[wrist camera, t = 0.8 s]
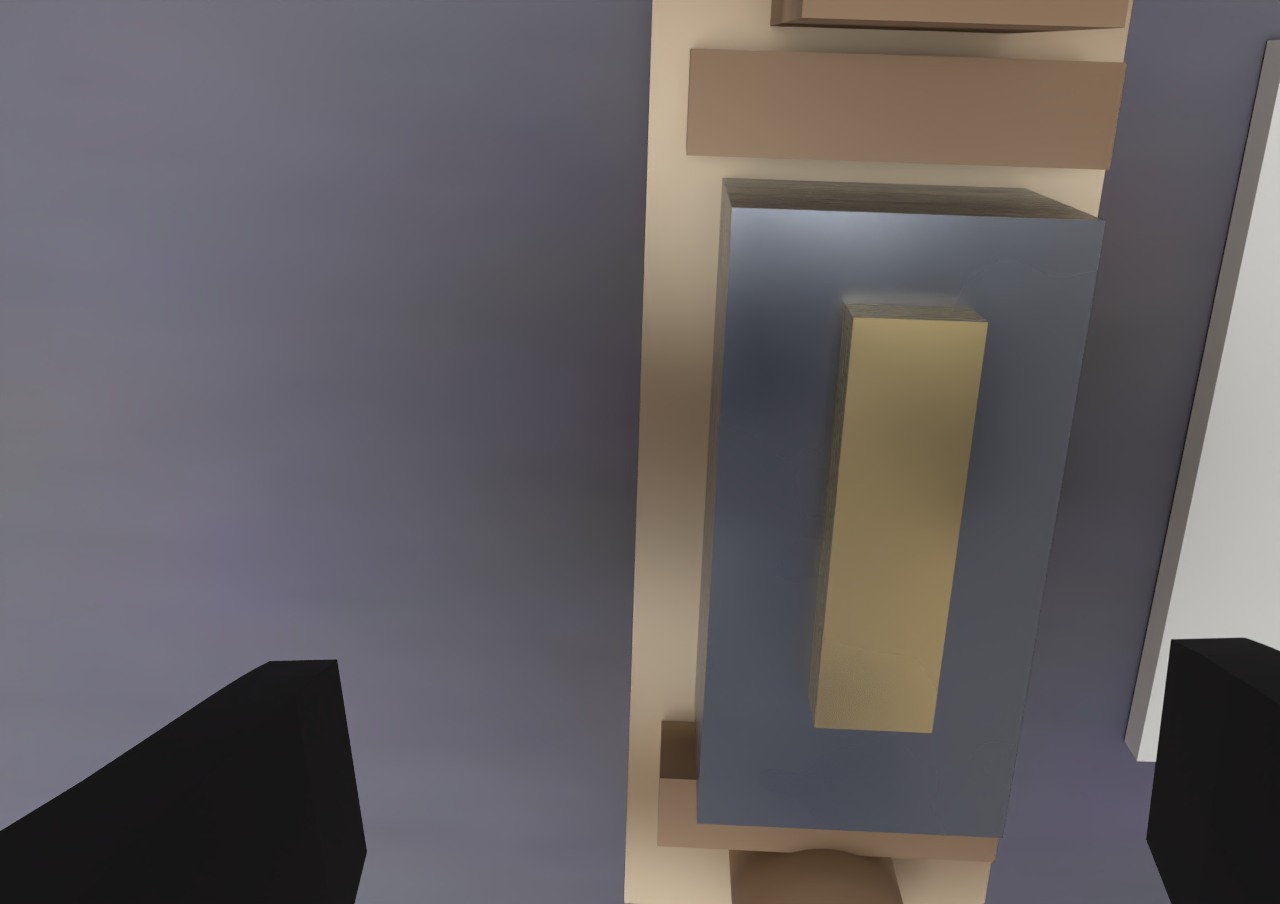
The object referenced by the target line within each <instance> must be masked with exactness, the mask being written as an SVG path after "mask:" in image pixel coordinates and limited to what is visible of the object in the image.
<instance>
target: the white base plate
mask: <svg viewBox="0 0 1280 904" xmlns="http://www.w3.org/2000/svg"><path fill="white" fill-rule="evenodd" d="M1243 637H1245V638H1248V639H1251V640H1253V641H1256V642H1259V643H1261V644H1264V645H1267V646H1269V647H1272V648H1274V649H1276V650H1279V651H1280V40H1268V41H1267V46H1266V51H1265V56H1264V61H1263V66H1262V70H1261V75H1260V80H1259V85H1258V90H1257V95H1256V100H1255V105H1254V110H1253V114H1252V119H1251V124H1250V129H1249V134H1248V139H1247V144H1246V149H1245V154H1244V158H1243V163H1242V168H1241V173H1240V178H1239V183H1238V188H1237V193H1236V198H1235V202H1234V207H1233V212H1232V217H1231V222H1230V227H1229V232H1228V237H1227V242H1226V247H1225V251H1224V256H1223V261H1222V266H1221V271H1220V276H1219V281H1218V286H1217V291H1216V295H1215V300H1214V305H1213V310H1212V315H1211V320H1210V325H1209V330H1208V335H1207V339H1206V344H1205V349H1204V354H1203V359H1202V364H1201V369H1200V374H1199V379H1198V383H1197V388H1196V393H1195V398H1194V403H1193V408H1192V413H1191V418H1190V423H1189V427H1188V432H1187V437H1186V442H1185V447H1184V452H1183V457H1182V462H1181V467H1180V472H1179V476H1178V481H1177V486H1176V491H1175V496H1174V501H1173V506H1172V511H1171V516H1170V520H1169V525H1168V530H1167V535H1166V540H1165V545H1164V550H1163V555H1162V560H1161V564H1160V569H1159V574H1158V579H1157V584H1156V589H1155V594H1154V599H1153V604H1152V608H1151V613H1150V618H1149V623H1148V628H1147V633H1146V638H1145V643H1144V648H1143V652H1142V657H1141V662H1140V667H1139V672H1138V677H1137V682H1136V687H1135V692H1134V697H1133V701H1132V706H1131V711H1130V716H1129V721H1128V726H1127V731H1126V736H1125V741H1124V742H1125V743H1126V745H1127V747H1128V748H1129V750H1130V751H1131V753H1132V754H1133V756H1134V757H1135V759H1136V761H1146V762H1156V757H1157V749H1158V740H1159V732H1160V724H1161V716H1162V708H1163V700H1164V692H1165V684H1166V676H1167V667H1168V659H1169V651H1170V643H1171V639H1202V638H1243Z"/></svg>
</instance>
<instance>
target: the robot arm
mask: <svg viewBox="0 0 1280 904" xmlns="http://www.w3.org/2000/svg"><path fill="white" fill-rule="evenodd" d="M1146 840H1147V843H1148V845H1149V848H1150V850H1151V853H1152V855H1153V858H1154V860H1155V863H1156V866H1157V868H1158V871H1159V873H1160V876H1161V878H1162V881H1163V883H1164V886H1165V889H1166V891H1167V894H1168V896H1169V899H1170V901H1171V903H1172V904H1280V651H1279V650H1276V649H1274V648H1272V647H1269V646H1267V645H1264V644H1261V643H1259V642H1256V641H1253V640H1251V639H1248V638H1245V637H1243V638H1202V639H1171V643H1170V651H1169V659H1168V667H1167V676H1166V684H1165V692H1164V700H1163V708H1162V716H1161V724H1160V732H1159V740H1158V749H1157V757H1156V765H1155V773H1154V781H1153V789H1152V797H1151V805H1150V813H1149V821H1148V830H1147V838H1146ZM366 853H367V850H366V843H365V837H364V830H363V824H362V817H361V811H360V804H359V798H358V792H357V785H356V779H355V772H354V766H353V759H352V753H351V746H350V740H349V734H348V727H347V721H346V714H345V708H344V701H343V695H342V688H341V682H340V676H339V669H338V663H337V660H300V661H269V662H267V663H265V664H263V665H261V666H259V667H258V668H256V669H254V670H252V671H250V672H248V673H247V674H245V675H243V676H242V677H240V678H238V679H237V680H235V681H234V682H232V683H230V684H229V685H227V686H225V687H224V688H222V689H221V690H219V691H218V692H216V693H215V694H213V695H212V696H210V697H208V698H207V699H205V700H204V701H202V702H201V703H199V704H198V705H196V706H195V707H193V708H192V709H190V710H189V711H187V712H186V713H184V714H183V715H181V716H180V717H178V718H177V719H175V720H174V721H172V722H171V723H169V724H168V725H166V726H165V727H163V728H162V729H160V730H159V731H157V732H156V733H154V734H153V735H151V736H150V737H148V738H147V739H145V740H144V741H142V742H141V743H139V744H138V745H136V746H135V747H133V748H132V749H130V750H128V751H127V752H125V753H124V754H122V755H121V756H119V757H118V758H116V759H115V760H113V761H112V762H110V763H109V764H107V765H106V766H104V767H103V768H101V769H100V770H98V771H97V772H95V773H94V774H92V775H91V776H89V777H88V778H86V779H84V780H83V781H81V782H80V783H78V784H77V785H75V786H73V787H72V788H70V789H68V790H67V791H65V792H64V793H62V794H60V795H59V796H57V797H55V798H54V799H52V800H50V801H49V802H47V803H46V804H44V805H42V806H41V807H39V808H37V809H36V810H34V811H32V812H31V813H29V814H28V815H26V816H24V817H23V818H21V819H19V820H18V821H16V822H14V823H13V824H11V825H10V826H8V827H6V828H5V829H3V830H1V831H0V904H354V903H355V899H356V895H357V890H358V886H359V882H360V878H361V874H362V870H363V866H364V862H365V857H366Z"/></svg>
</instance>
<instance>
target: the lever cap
mask: <svg viewBox="0 0 1280 904" xmlns="http://www.w3.org/2000/svg"><path fill="white" fill-rule="evenodd" d="M1105 224H1106V220H1103V219H1101V218H1098V217H1096V216H1093V215H1091V214H1088V213H1086V212H1083V211H1081V210H1078V209H1076V208H1073V207H1071V206H1068V205H1066V204H1063V203H1061V202H1058V201H1056V200H1053V199H1051V198H1048V197H1046V196H1043V195H1041V194H1039V193H1036V192H1034V191H1031V190H1029V189H1026V188H1003V187H975V186H946V185H917V184H888V183H859V182H830V181H801V180H772V179H743V178H722V194H721V213H720V232H719V250H718V269H717V288H716V306H715V325H714V344H713V362H712V381H711V400H710V418H709V437H708V456H707V474H706V493H705V512H704V530H703V549H702V568H701V586H700V605H699V624H698V642H697V661H696V680H695V698H694V705H695V754H696V803H697V824H715V825H736V826H757V827H778V828H800V829H821V830H842V831H863V832H884V833H905V834H926V835H948V836H969V837H990V838H1003V832H1004V827H1005V821H1006V815H1007V809H1008V803H1009V797H1010V791H1011V785H1012V779H1013V773H1014V767H1015V761H1016V755H1017V749H1018V743H1019V737H1020V731H1021V725H1022V719H1023V713H1024V707H1025V701H1026V695H1027V689H1028V683H1029V677H1030V671H1031V665H1032V659H1033V653H1034V648H1035V642H1036V636H1037V630H1038V624H1039V618H1040V612H1041V606H1042V600H1043V594H1044V588H1045V582H1046V576H1047V570H1048V564H1049V558H1050V552H1051V546H1052V540H1053V534H1054V528H1055V522H1056V516H1057V510H1058V504H1059V498H1060V492H1061V486H1062V480H1063V474H1064V469H1065V463H1066V457H1067V451H1068V445H1069V439H1070V433H1071V427H1072V421H1073V415H1074V409H1075V403H1076V397H1077V391H1078V385H1079V379H1080V373H1081V367H1082V361H1083V355H1084V349H1085V343H1086V337H1087V331H1088V325H1089V319H1090V313H1091V307H1092V301H1093V295H1094V289H1095V284H1096V278H1097V272H1098V266H1099V260H1100V254H1101V248H1102V242H1103V236H1104V230H1105Z"/></svg>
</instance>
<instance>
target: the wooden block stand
mask: <svg viewBox="0 0 1280 904" xmlns="http://www.w3.org/2000/svg"><path fill="white" fill-rule="evenodd" d="M1132 5H1133V0H653V7H652V38H651V70H650V101H649V133H648V165H647V196H646V228H645V260H644V291H643V323H642V355H641V386H640V418H639V449H638V481H637V513H636V544H635V576H634V608H633V639H632V671H631V703H630V734H629V766H628V797H627V829H626V861H625V892H624V903H638V904H984V902H985V896H986V890H987V884H988V878H989V872H990V866H991V862H995V856H996V850H997V844H998V838H990V837H969V836H948V835H926V834H905V833H884V832H863V831H842V830H821V829H800V828H778V827H757V826H736V825H715V824H697V803H696V754H695V705H694V698H695V680H696V661H697V642H698V624H699V605H700V586H701V568H702V549H703V530H704V512H705V493H706V474H707V456H708V437H709V418H710V400H711V381H712V362H713V344H714V325H715V306H716V288H717V269H718V250H719V232H720V213H721V194H722V178H743V179H772V180H801V181H830V182H859V183H888V184H917V185H946V186H975V187H1003V188H1026V189H1029V190H1031V191H1034V192H1036V193H1039V194H1041V195H1043V196H1046V197H1048V198H1051V199H1053V200H1056V201H1058V202H1061V203H1063V204H1066V205H1068V206H1071V207H1073V208H1076V209H1078V210H1081V211H1083V212H1086V213H1088V214H1091V215H1093V216H1096V217H1098V211H1099V205H1100V199H1101V193H1102V187H1103V181H1104V175H1105V170H1109V169H1110V163H1111V157H1112V151H1113V145H1114V139H1115V133H1116V127H1117V121H1118V115H1119V109H1120V103H1121V97H1122V91H1123V85H1124V79H1125V73H1126V67H1127V63H1125V62H1123V60H1124V53H1125V47H1126V41H1127V35H1128V29H1129V23H1130V17H1131V11H1132Z"/></svg>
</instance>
